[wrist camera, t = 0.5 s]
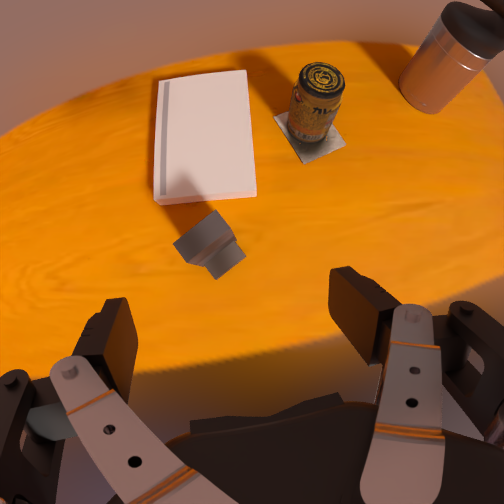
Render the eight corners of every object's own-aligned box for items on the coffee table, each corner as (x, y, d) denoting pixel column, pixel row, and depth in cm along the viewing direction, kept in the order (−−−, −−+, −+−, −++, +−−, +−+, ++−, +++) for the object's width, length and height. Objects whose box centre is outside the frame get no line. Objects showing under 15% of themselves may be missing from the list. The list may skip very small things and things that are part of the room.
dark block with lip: (224, 224, 40) (214, 207, 30) (248, 254, 39) (245, 247, 30) (191, 250, 40) (171, 242, 30) (214, 281, 39) (201, 282, 30)
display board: (164, 91, 42) (158, 80, 39) (246, 81, 42) (246, 69, 39) (160, 205, 40) (153, 199, 37) (256, 196, 40) (256, 190, 37)
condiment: (315, 100, 41) (330, 50, 29) (346, 145, 41) (373, 102, 29) (273, 117, 41) (277, 67, 29) (303, 165, 40) (319, 123, 28)
